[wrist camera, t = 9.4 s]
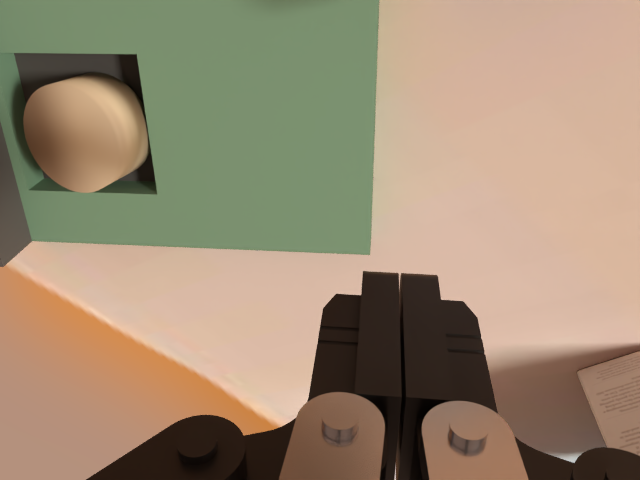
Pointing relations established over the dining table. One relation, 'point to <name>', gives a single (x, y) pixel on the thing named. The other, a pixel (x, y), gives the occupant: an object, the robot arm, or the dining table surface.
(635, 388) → the small box
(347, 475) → the robot arm
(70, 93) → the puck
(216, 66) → the green flat block
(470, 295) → the dining table surface
